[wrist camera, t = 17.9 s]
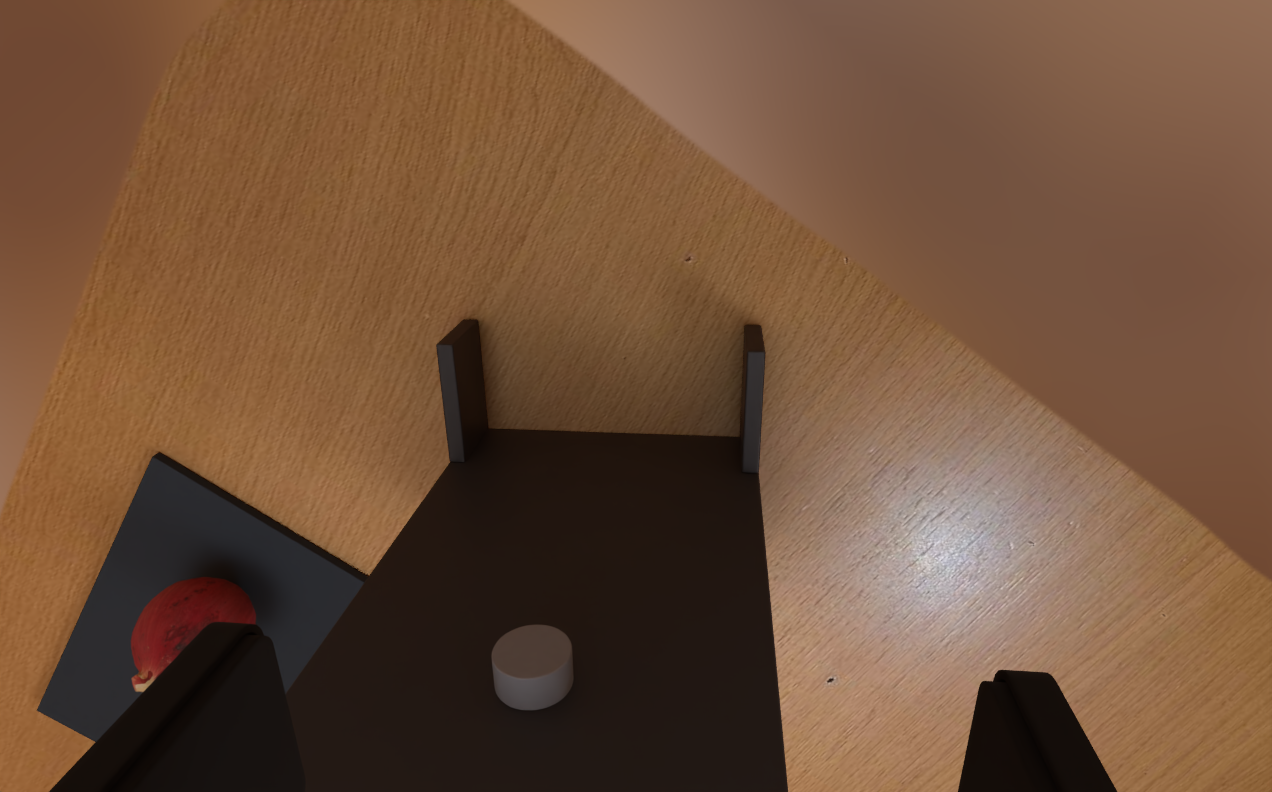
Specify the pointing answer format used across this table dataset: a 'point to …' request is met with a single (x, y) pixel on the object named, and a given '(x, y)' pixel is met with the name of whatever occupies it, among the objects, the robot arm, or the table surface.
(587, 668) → the grey legged box
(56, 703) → the mat
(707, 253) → the table surface
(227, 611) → the pomegranate
